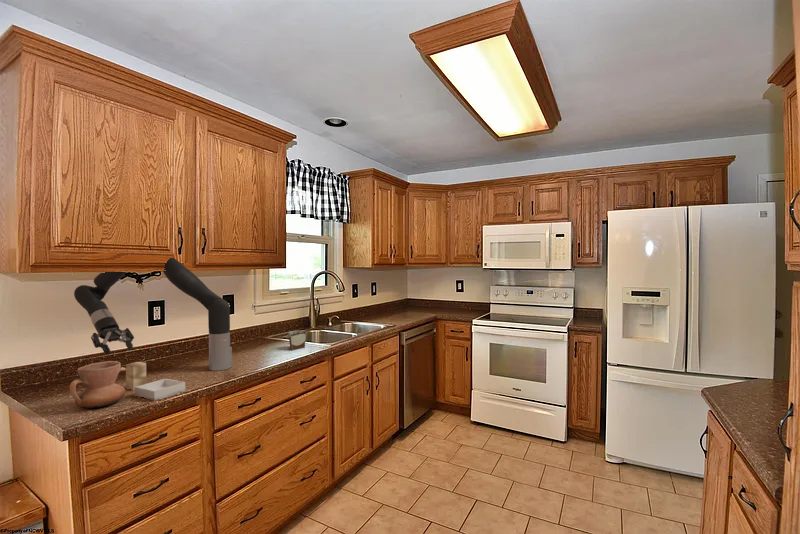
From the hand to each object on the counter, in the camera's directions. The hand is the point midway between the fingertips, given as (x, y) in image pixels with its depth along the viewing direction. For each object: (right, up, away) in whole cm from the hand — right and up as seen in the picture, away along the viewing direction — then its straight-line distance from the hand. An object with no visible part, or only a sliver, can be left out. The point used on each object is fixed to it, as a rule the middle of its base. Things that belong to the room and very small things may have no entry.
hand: (120, 351), depth 163 cm
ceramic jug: (+9, -15, -23) cm, 28 cm away
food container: (+55, -13, +67) cm, 88 cm away
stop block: (+10, -14, -5) cm, 18 cm away
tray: (+24, -14, -11) cm, 30 cm away
